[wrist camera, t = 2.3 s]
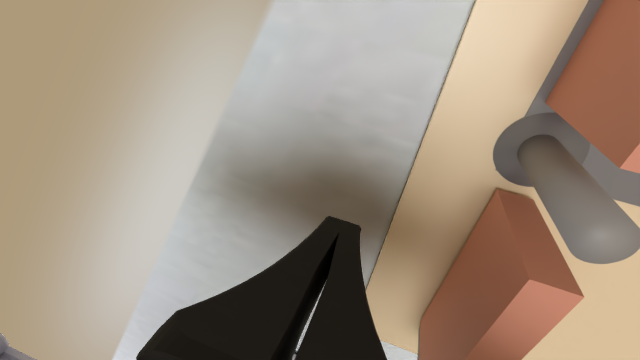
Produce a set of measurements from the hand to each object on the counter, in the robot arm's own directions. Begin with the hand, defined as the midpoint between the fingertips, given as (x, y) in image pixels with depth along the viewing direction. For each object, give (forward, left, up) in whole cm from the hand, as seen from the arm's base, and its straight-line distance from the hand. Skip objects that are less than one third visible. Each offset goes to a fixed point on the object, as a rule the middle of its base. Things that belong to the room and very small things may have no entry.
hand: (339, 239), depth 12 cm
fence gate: (-1, -5, -1) cm, 6 cm away
